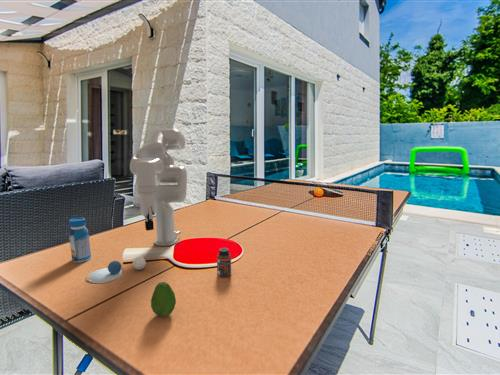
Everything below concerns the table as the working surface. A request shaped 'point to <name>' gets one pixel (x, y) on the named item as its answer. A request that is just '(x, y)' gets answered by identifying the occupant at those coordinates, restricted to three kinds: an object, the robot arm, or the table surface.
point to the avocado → (163, 300)
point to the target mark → (103, 276)
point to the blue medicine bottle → (79, 240)
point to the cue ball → (139, 263)
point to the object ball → (114, 267)
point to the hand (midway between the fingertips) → (149, 229)
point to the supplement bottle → (224, 263)
